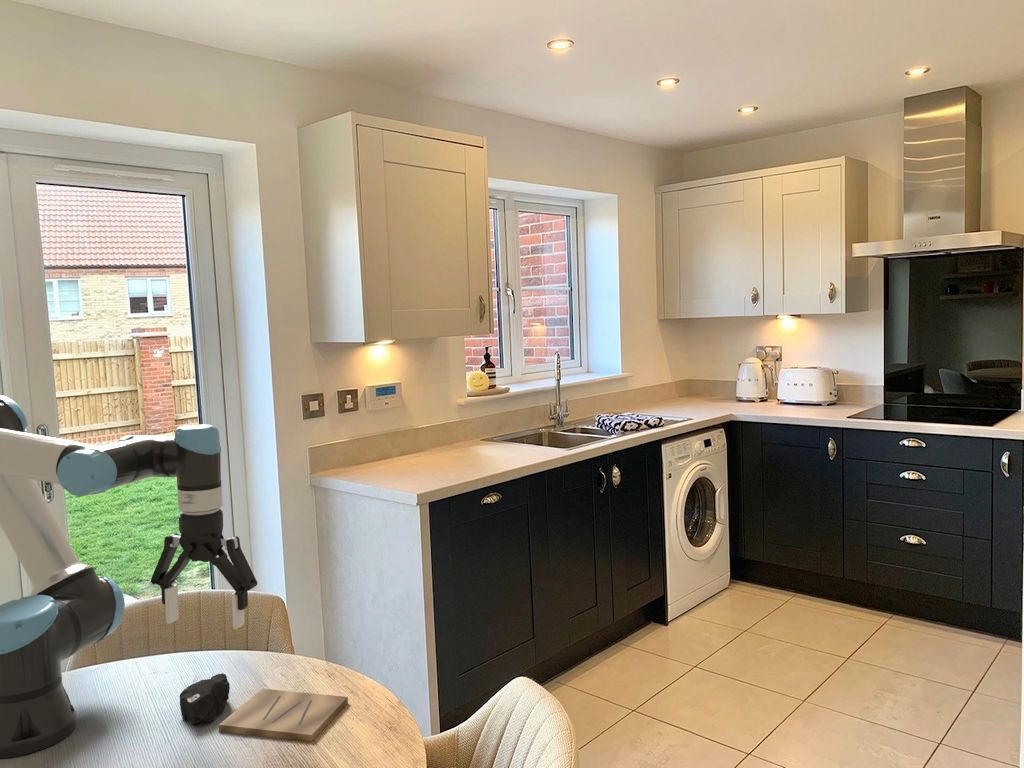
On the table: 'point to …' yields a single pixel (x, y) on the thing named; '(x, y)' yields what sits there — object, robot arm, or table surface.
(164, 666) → the table surface
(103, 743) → the table surface
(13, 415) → the robot arm
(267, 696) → the board
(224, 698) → the rock
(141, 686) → the table surface
